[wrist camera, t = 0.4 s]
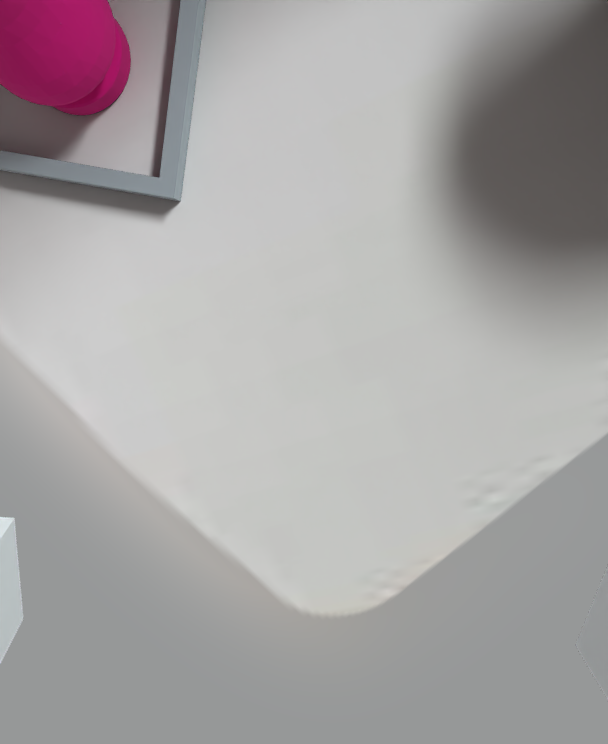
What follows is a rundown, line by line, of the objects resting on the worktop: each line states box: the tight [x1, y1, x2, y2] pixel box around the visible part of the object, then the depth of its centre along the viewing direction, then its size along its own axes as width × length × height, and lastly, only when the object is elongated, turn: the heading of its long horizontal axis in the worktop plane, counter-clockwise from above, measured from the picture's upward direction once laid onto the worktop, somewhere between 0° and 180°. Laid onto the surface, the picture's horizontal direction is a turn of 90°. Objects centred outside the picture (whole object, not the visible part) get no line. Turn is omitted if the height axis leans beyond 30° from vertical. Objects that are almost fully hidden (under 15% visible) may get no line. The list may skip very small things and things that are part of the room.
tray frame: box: [0, 0, 206, 201], centre depth 33 cm, size 14×14×2 cm
